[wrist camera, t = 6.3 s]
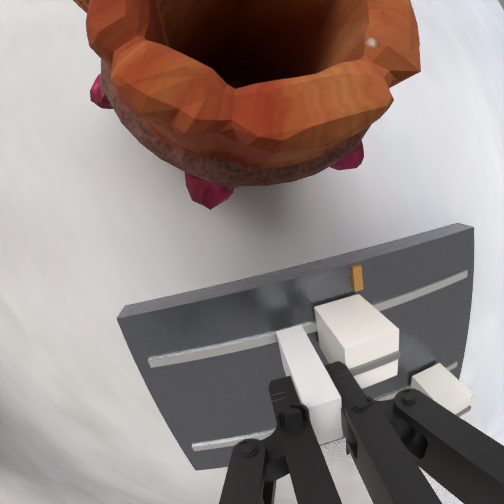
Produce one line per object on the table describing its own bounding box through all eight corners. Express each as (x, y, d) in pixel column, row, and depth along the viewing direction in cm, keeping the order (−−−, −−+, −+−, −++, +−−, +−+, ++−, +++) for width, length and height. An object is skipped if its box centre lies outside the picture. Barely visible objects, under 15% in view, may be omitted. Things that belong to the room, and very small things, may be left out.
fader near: (319, 347, 19) (348, 396, 14) (314, 306, 18) (346, 350, 13) (361, 333, 19) (399, 376, 14) (358, 293, 18) (401, 331, 13)
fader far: (408, 400, 21) (438, 437, 16) (412, 376, 20) (445, 413, 15) (435, 387, 21) (466, 420, 16) (439, 362, 21) (474, 395, 16)
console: (196, 454, 23) (195, 473, 21) (125, 305, 19) (115, 320, 17) (447, 375, 24) (459, 387, 22) (457, 222, 20) (476, 227, 18)
